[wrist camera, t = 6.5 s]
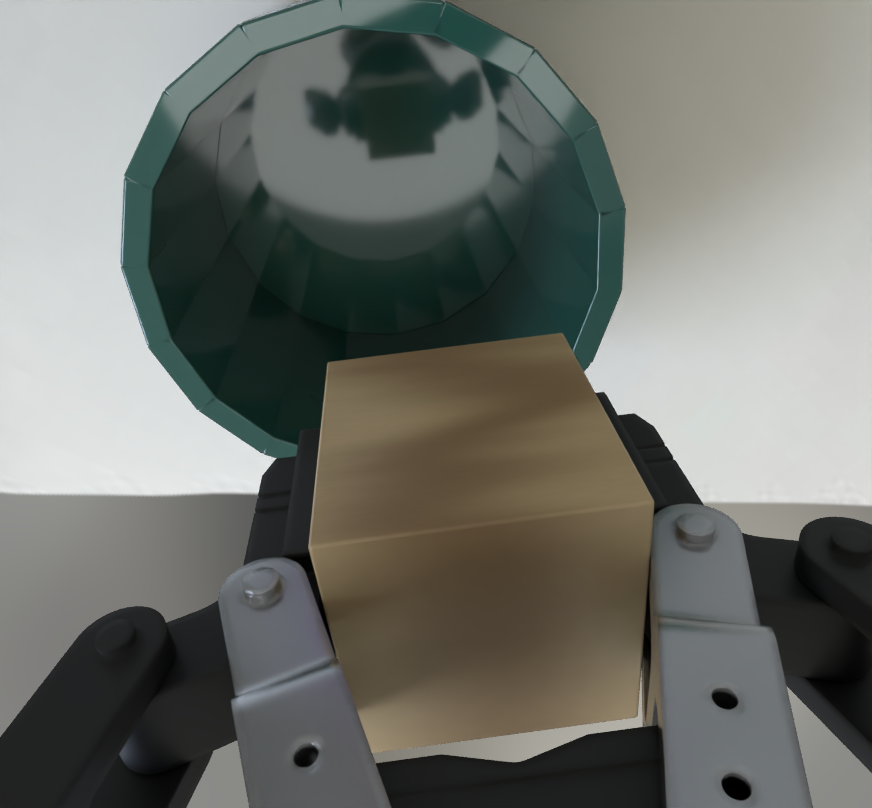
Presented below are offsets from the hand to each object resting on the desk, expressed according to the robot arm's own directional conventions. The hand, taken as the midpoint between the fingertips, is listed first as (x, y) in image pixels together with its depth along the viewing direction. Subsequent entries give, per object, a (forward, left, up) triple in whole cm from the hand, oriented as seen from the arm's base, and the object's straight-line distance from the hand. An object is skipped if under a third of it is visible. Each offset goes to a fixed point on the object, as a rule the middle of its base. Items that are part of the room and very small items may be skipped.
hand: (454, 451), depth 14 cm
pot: (+1, 0, -19) cm, 19 cm away
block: (0, 0, 0) cm, 0 cm away
